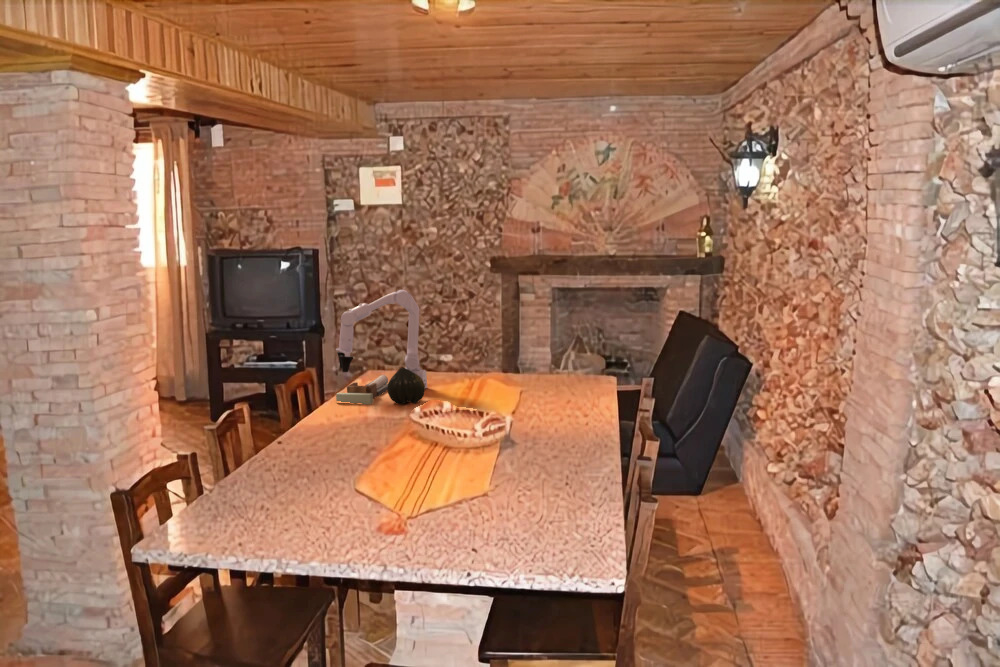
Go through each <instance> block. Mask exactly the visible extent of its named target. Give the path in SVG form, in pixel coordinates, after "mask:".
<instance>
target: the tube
mask: <svg viewBox="0 0 1000 667" xmlns="http://www.w3.org/2000/svg"><path fill="white" fill-rule="evenodd" d="M369 383H370V382H369ZM369 383H368V384H369ZM372 383H376V385H377V390H378V389H380V388H382V387H383V386H385V385H387V384H388V383H389V378H388V377H387V375H386V374H381V375H380V376H378V377H377V378H375V379H374V380H373V382H372V381H371V383H370V384H372ZM370 384H369V385H370ZM366 385H367V384H366ZM367 386H368V385H367Z"/></svg>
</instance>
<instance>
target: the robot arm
mask: <svg viewBox="0 0 1000 667" xmlns="http://www.w3.org/2000/svg"><path fill="white" fill-rule="evenodd" d="M388 304H389V305H390V304H391V305H395V304H397V305H398V306H401V307H402V308H404V309H405V310H406V311H407V312H408V325H407V326H408V328H407V346H406V347H407V348H406V355H405V357H404V364H405V365H404V366H405V368H406V369H408V370H410V371H412V372H414V373H415V374H417V375H418V376H420V377H421V379H422V380H423V382H424V385H425V388H426V389H427V388H428V387H429V386H428V378H427V377H428V376H427V370H425V369H421V368H422V367H420V364H421V363H420V358H419V356H418V355H419V349H418V348H419V332H420V330H419V329H420V328H419V327H420V307H419V305H418V303H417V301H416V300H415V299H414V297H413V295H412V294H411V293H410V292H408V291H407V290H406V289H399V290H397V291H393V292H390V293H388V294H385V295H384V296H382V297H380V298H378V299H376V300H374V301H373V302H370V303H369V304H368V303H367V302H366V303H365V302H364V303H361V302H360V303H359V304H358V306H355V307H353V308H349V309H348V310H347V311H344V312H343V313H342V314H341V316H340V322H341V323H340V329H339V342H338V348H335V351H337V352H336V354H337V356H338V360H339V368H340V369H341V370H342V373H349V370H350V366H351V364H352V361H353V360H354V356H351V353H353V344H354V330H355V329H354V323H355V322H359V321H361V320H363V319H365V318H367V317H369V316H371V314H372V311H374V310H377V309H380V308H382V307H384V306H386V305H388Z"/></svg>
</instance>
